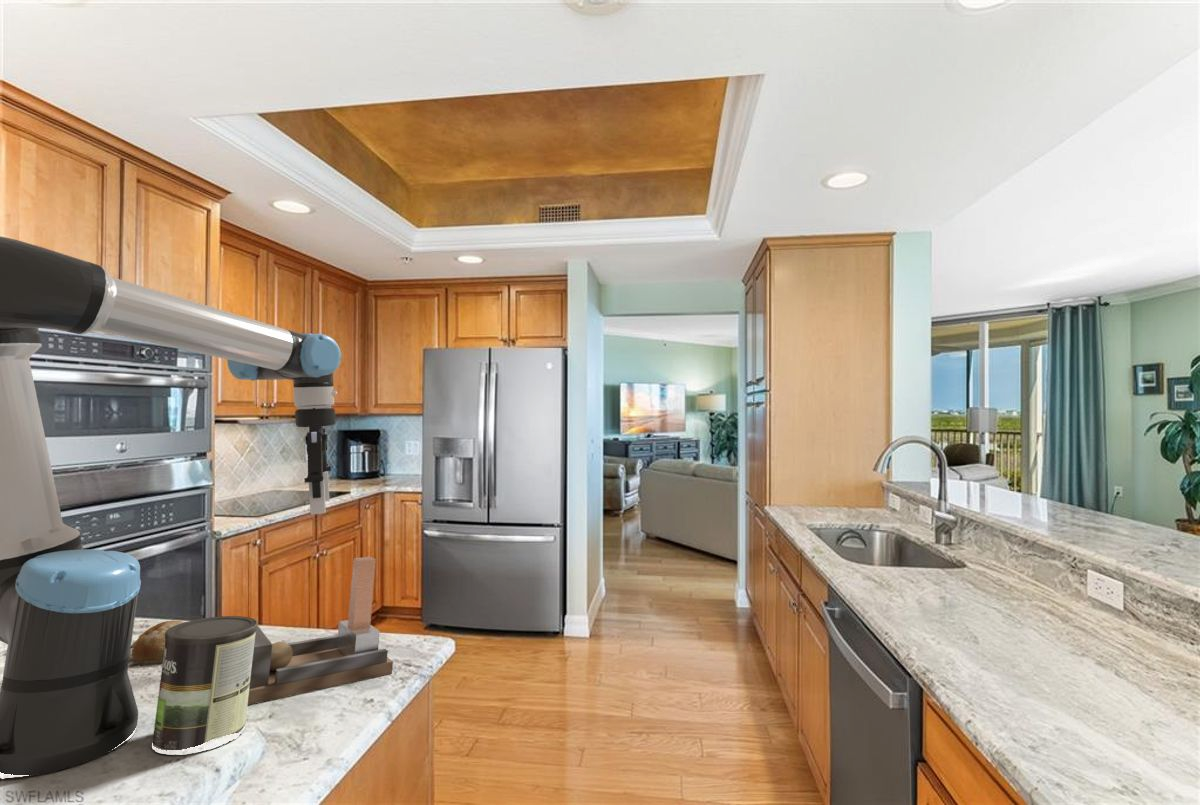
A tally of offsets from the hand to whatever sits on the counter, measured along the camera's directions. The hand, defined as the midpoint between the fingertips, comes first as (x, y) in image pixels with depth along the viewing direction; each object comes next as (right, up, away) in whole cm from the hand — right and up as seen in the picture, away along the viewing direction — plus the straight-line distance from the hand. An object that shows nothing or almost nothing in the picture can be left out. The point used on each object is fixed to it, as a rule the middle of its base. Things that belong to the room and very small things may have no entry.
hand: (320, 507), depth 116 cm
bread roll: (-21, -25, -15) cm, 36 cm away
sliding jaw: (+15, -23, -17) cm, 32 cm away
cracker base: (+10, -25, -22) cm, 34 cm away
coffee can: (+6, -22, -43) cm, 49 cm away
